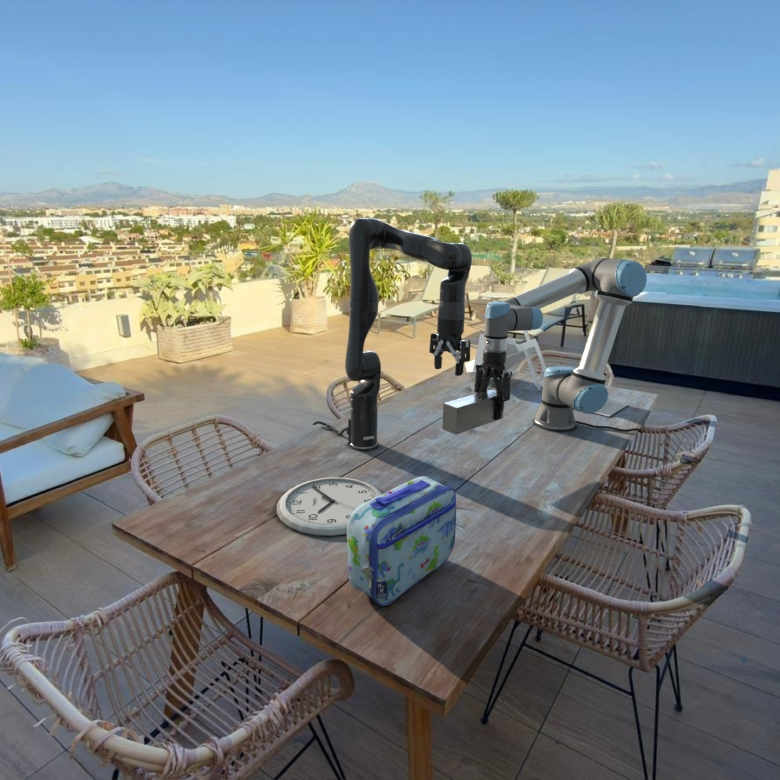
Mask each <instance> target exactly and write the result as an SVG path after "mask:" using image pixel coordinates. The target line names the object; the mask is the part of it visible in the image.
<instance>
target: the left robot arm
mask: <svg viewBox="0 0 780 780" xmlns="http://www.w3.org/2000/svg"><path fill="white" fill-rule="evenodd" d="M378 249H379V250H382V249H383V250H384V249H385V250H386V249H387V250H393V251H397V252H399V253H401V254H402V255H404V256H405V257H407V258H410V259H412V260H413V259H414V260H416V261H420V262H424V263H427V264H430V265H432V266H433V267H435V268H438V269H441V270H444V271H448V272H447V274H446V277H444V279H442V280H441V281H440V283H439V285H440V286H439V300H438V307H437V324H436V325H437V326H436V331H437V332H433V333H431V334H430V339H429V353H430V354H432V355H433V357H434V360H433V361H434V362H433V366H434V369H435V370H441V369H442V368H443V354H444V353H445V352H447V353H449V354H451V356H452V357H453V358H454V359H455V360H454V361H455V369H454V370H455V371H454V375H455V376H456V377H459V376H462V375H463V373H464V367H465V363H468V362H471V340H470V339H468V340H465V339H464V340H463V338H462V337H463V334H464V333H465V331H464V330H465V315H466V304H465V303H466V302H465V298H466V285H467V282H468V279H469V276H470V271H471V268H472V262H473V256H472V255H473V254H472V251H471V248H470V247H469V246H468V245H467V244H466V243H463V242H443V241H439V239H437V238H435V237H433V236H428V235H424V234H420V233H417V232H415V233H414V232H412V231H408V230H407V231H406V230H403V229H400V228H397V227H395V226H393V225H391V224H388V223H387V222H385V221H383V220H381V219H378V218H372V217H371V218H370V217H369V218H365V217H363V218H362V217H361V218H356V219H354V220H353V221H352V222H351V224H350V226H349V230H348V250H349V263H350V265H349V267H350V268H349V269H350V273H349V274H350V279H349V281H350V283H349V303H348V306H349V307H348V310H349V311H348V312H349V313H348V314H349V316H348V317H349V318H348V335H347V343H346V351H345V352H346V353H345V360H344V369H345V373H346V376H347V379H349V381H352V382H358V384H357V385H355V386H354V387H352V389H351V390H350V397H349V398H350V418H348V420H347V424H348V425H347V427H344V428H343V429H341V431H339V430H338V429H336V428H335V427H334V426H332V425H330V424H328V425H327V423H326V422H323V421H320V420H317V421H314V422H313V423H312V426H316V425H318V424H319V425H322V426H324V427H326V428H328V429H331V430H332V431H333V432H335V434H337V435H339V436H341V435H343V434H344V433H345V432H346V435H348V436H347V437H348V438H347V439H348V441H347V444H348V446H350V447H351V448H353V449H355V450H358V451H370V450H373V449H376V448H377V447H378V415H379V414H378V409H379V407H378V404H379V403H378V400H379V399H378V397H379V392H380V389H381V375H382V362H381V359H380V356H379V355H378V353H377V352H375V351H373V350H365V349H364V347H365V342H366V339H367V337H368V335H369V332H370V331H371V329H372V327H373V326H374V324H375V322H376V319H377V318H378V314H379V302H380V301H379V300H380V297H379V295H380V294H379V290H378V286H377V284H376V282H375V279H374V277H373V274H372V272H371V267H370V252H371V251H373V250H378ZM364 350H365V351H364ZM325 425H327V426H325Z"/></svg>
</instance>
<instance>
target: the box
mask: <svg viewBox="0 0 780 780" xmlns="http://www.w3.org/2000/svg"><path fill="white" fill-rule="evenodd" d="M497 400H498V399H497V393H496V389H487V391H484V392H481V393H474V394H471V395H467V396H464V397H460V398H457V399H453V400H450V401H446V402H443V404H442V406H443V407H442V431H446V432H447V433H449V434H452V435H455V436H456V435H459V434H462V433H466V432H468V431H470V430H473V429H474V430H475V429H476V428H480V427H482V426H485V425H488V424H491V423H493V422H496V421H498V420H494V418H495V404H496V401H497ZM504 410H505V408H504V409H503V410H502V415H501V419H500V420H502V419H504V412H505V411H504Z"/></svg>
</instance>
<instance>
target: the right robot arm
mask: <svg viewBox="0 0 780 780" xmlns="http://www.w3.org/2000/svg"><path fill="white" fill-rule="evenodd" d="M647 276H648V275H647V271H646V269H645V267H644V265H643V264H642V263H640V262H639V261H636V260H631V259H625V258H623V259H622V258H610V257H602V258H598V259H594V260H593V259H592V260H591V261H588V262H585V263H583V264H581V265H578V266H576V267H573V268H572V269H571V268H570V270H569V271H568V273H567V274H564V275H562V276H559V277H558V278H555V279H552V280H551V281H548V282H546V283H543V284H541V285H538V286H536V287H534V288H531V289H529V290H527V291H524V292H521V293H520V294H518V295H516V296H515V295H514V296H512V297H511V298H508V299H505V300H494V301H490V302H487V304H486V307H485V314H484V332H483V334H484V347H483V348H484V349H485V350H484V351H483V361H484V362H483V364H478V365H476V377H475V378H474V379H475V380H474V381H475V382H474V388H473V389H474V390H473V391H474V394H477V393H481V392H484V391H487V390H488V388H489V384H490V381H491V379H492V381H493V383H494V386H495V391H496V393H497V399H498V400H497V401H496V404H495V418H494V420H497V421H499V420H502V419H501V415H502V410H503V409H504V410H505V402H507V401H510V399H511V378H512V376H513V372H512V370H511V371H509V370H505V366H504V364H505V362H506V351H505V350H506V349H507V339H509V338H508V337H509V332H522V331H523V332H524V331H525V330H528V332H529V331H534V330H535V331H536V330H539V329H540V328H541V327H542V324H543V323H544V314H543V311H542V310H541V309H543V308H545V307H547V306H550V305H552V304H554V303H556V302H558V301H559V302H560V301H561V300H563V299H566V298H568V297H570V296H573V295H575V294H578V295H582V294H584V293H587V292H597V293H596V297H597V299H598V301H599V302H598V305H597V308H596V312H595V314H594V317H593V322H592V324H591V327H590V330H589V334H588V336H587V340H586V343H585V346H584V349H583V353H582V356H581V359H580V361H579V365H578V367H573V366H566V365H565V366H564V365H562V366H561V365H559V366H558V365H557V366H549V367H546V368H547V369H546V370H545V374H544V373H543V381H542V382H543V383H542V394H541V402H540V405H539V407H538V410H537V411H536V413H535V417H534V424H535V425H536V426H537V427H539V428H542V429H544V430H549V431H556V432H567V431H572V430H574V429H575V428H576V424H578V425H582V426H586V427H589V428H595V429H608V430H613V431H618V432H624V433H628V432H629V433H630V432H635V431H636V432H638V433H640V434H643V431H642V429H640V428H637V427H633V428H625V429H624V428H618V427H614V426H609V425H595V424H591V423H588V422H587V423H586V422H582V421H579V420H576V418H575V417H576V416H575V413H574V410H576V411H577V412H580V413H583V414H587V415H590V414H596V413H595V412H597V411H598V410H600V409H601V408H602V407H603V406H604V405H605V403H606V402H607V400H609V391H608V388H607V387H606V386H605V384H606V382H607V377H606V375H605V374H604V373H605V370H606V367H607V365H608V361H609V359H610V355H611V352H612V349H613V345H614V343H615V340H616V336H617V333H618V331H619V327H620V324H621V322H622V319H623V315H624V312H625V309H626V307H627V306H629V305H631V304H632V303H633V300H634V298H635V297H638V296H640V295H641V293H643V291H644V290H645V288H646V285H647V281H648V280H647V279H648V277H647ZM484 371H485V372H484ZM483 373H484V375H483ZM502 374H503V375H502Z"/></svg>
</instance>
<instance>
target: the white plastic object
mask: <svg viewBox="0 0 780 780" xmlns="http://www.w3.org/2000/svg"><path fill="white" fill-rule="evenodd" d="M523 334H524V337H525V342H522V343H520V344H519V343H516V340H515V339H514V337H509V338H508V339H507V349H506V350H505V351H506V362H505V364H504V366H505V370H507V371H509V370H510V369H511V368H513V367H514V366H516V365H517V364H518V363H520V362H521V361H523V360H524V359H526V362H527V366H528V369H529V372H530V375H531V379H532V381H533V384H534V386H535V387H536V389H537V390H538V391H539V392H540V391H541V384H540V382H539V379H538V375H537V374H536V370H535V368H534V364H533V361H532V358H531V355H533V354H536V355H537V357H538V360H539V363H540V366H541V369H542V372H543V375H544V374H545V370H546V369H547V368H548V367H547V364H546V362H545V359H544V356H543V353H542V350H541V348H540V344H539V342H538V340H537V339H536V338H533V339H531V337H530V334H529V330H525V331H523ZM483 347H484V333H480V334H479V339H478V343H477V347H476V352H475V358H474V359H473V360H470V361H467V362H465V363H464V367H465V370H466V372H467V375H468V376H469V377H470V378H471V379H473V378H474V379H475V378H476V365H478V364H483V362H484V361H483V351H484V350H485V349H484V348H483ZM484 372H485V371H484ZM483 375H484V373H483ZM502 376H503V374H502Z"/></svg>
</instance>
